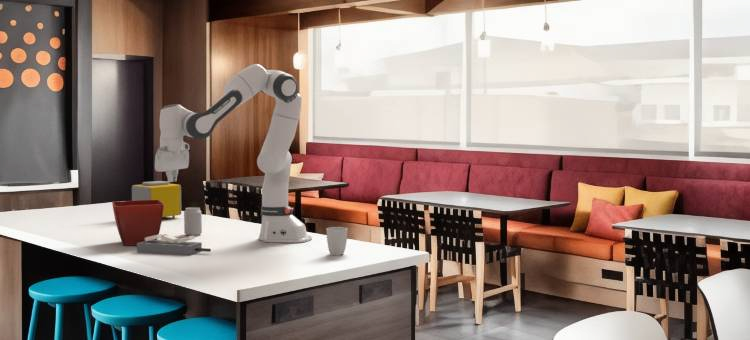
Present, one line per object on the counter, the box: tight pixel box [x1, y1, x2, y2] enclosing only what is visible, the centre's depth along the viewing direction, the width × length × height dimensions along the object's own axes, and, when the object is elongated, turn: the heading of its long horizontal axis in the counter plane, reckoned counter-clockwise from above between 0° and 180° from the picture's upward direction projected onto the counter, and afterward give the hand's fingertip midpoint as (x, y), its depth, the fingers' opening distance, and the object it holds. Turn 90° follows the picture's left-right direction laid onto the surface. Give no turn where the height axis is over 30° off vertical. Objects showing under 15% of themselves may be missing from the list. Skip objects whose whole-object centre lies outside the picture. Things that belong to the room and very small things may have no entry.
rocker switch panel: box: [136, 239, 212, 256], centre depth 332 cm, size 29×9×4 cm, turn 73°
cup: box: [325, 226, 349, 256], centre depth 328 cm, size 8×8×10 cm
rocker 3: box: [177, 236, 195, 243], centre depth 331 cm, size 6×3×2 cm, turn 73°
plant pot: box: [112, 200, 164, 246], centre depth 353 cm, size 19×19×17 cm
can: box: [183, 206, 203, 237], centre depth 375 cm, size 8×8×12 cm
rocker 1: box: [145, 233, 162, 242], centre depth 335 cm, size 6×3×2 cm, turn 73°
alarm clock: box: [131, 180, 182, 219], centre depth 427 cm, size 20×16×18 cm
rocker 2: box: [159, 233, 179, 243], centre depth 333 cm, size 6×3×2 cm, turn 74°
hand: (172, 181), depth 334 cm, fingers closed
